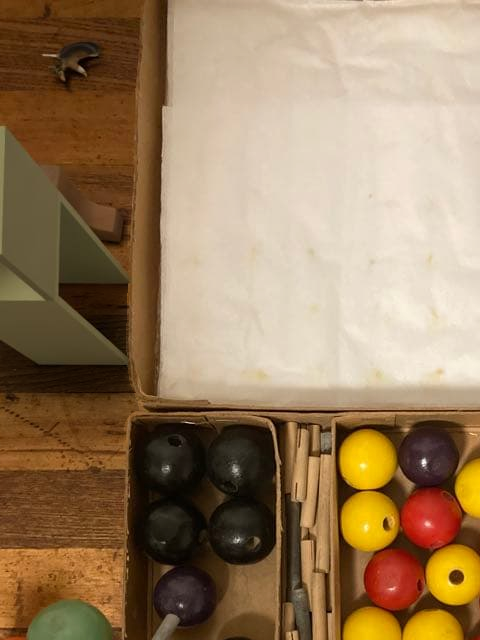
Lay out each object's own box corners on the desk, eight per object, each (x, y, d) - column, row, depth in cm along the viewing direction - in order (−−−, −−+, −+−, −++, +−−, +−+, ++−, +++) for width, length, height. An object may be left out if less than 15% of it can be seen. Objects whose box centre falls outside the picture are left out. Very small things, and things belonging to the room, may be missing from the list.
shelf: (38, 364, 149) (-134, 253, 101) (40, 276, 150) (-128, 124, 102) (128, 364, 150) (1, 254, 101) (130, 277, 151) (5, 125, 102)
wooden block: (124, 218, 151) (88, 168, 133) (121, 243, 151) (84, 195, 133) (75, 212, 151) (32, 161, 133) (71, 236, 151) (28, 188, 133)
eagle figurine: (81, 97, 151) (111, 56, 150) (48, 68, 146) (79, 24, 144) (67, 85, 156) (96, 45, 155) (33, 56, 150) (63, 14, 149)
